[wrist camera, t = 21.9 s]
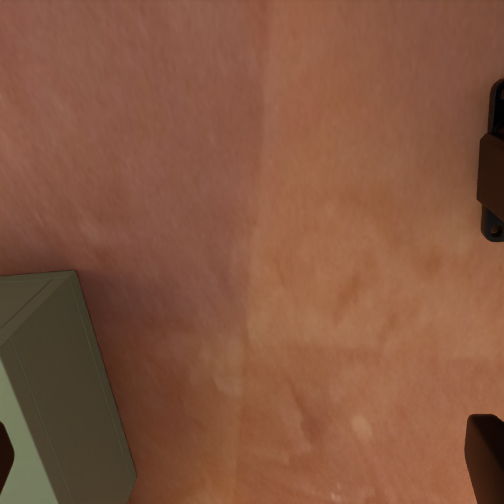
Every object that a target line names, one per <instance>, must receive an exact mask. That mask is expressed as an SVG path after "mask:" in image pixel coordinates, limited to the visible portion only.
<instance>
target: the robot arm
mask: <svg viewBox="0 0 504 504" xmlns="http://www.w3.org/2000/svg"><path fill="white" fill-rule="evenodd" d="M503 89H504V79H500V80H499V81H497V82H496V83H495V84H494V85H493V87H492V88H491V92H490V102H489V117H488V132H487V134H485V135H484V136H483V137H482V138H481V140H480V150H479V166H478V182H477V200H478V201H479V202H481V203H482V204H483V206H482V221H481V232H482V234H483V235H484V237H485V238H486V239H487V240H489V241H491V242H504V99H503V98H502V97H501V92H502V90H503ZM496 225H499V226H500V228H499V230H498V231H497V232H496V233H491V232H490V231H491V229H492V228H493V227H494V226H496ZM464 450H465V459H466V464H467V468H468V471H469V475H470V478H471V482H472V486H473V489H474V493H475V496H476V500H477V504H504V422H503V421H502V420H501V419H499V418H498V417H497V416H495V415H493V414H472V415H470V416H469V418H468V420H467V429H466V438H465V449H464ZM14 457H15V453H14V448H13V446H12V443H11V441H10V438H9V435H8V433H7V430H6V428H5V426H4V424H3V423H2V422H1V421H0V495H1V492H2V490H3V487H4V485H5V483H6V480H7V478H8V475H9V473H10V470H11V468H12V466H13V463H14Z"/></svg>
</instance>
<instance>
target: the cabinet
mask: <svg viewBox="0 0 504 504" xmlns="http://www.w3.org/2000/svg"><path fill="white" fill-rule="evenodd" d="M0 421H1V422H2V423H3V424H4V426H5V428H6V430H7V433H8V435H9V438H10V441H11V443H12V446H13V448H14V453H15V457H14V463H13V466H12V468H11V470H10V473H9V475H8V478H7V480H6V483H5V485H4V487H3V490H2V492H1V495H0V504H127V502H128V500H129V497H130V494H131V491H132V489H133V487H134V484H135V481H136V478H137V474H136V471H135V468H134V464H133V461H132V458H131V454H130V451H129V447H128V444H127V441H126V437H125V434H124V431H123V427H122V424H121V421H120V417H119V414H118V410H117V407H116V404H115V400H114V397H113V394H112V390H111V387H110V384H109V380H108V377H107V373H106V370H105V367H104V363H103V360H102V357H101V353H100V350H99V347H98V343H97V340H96V337H95V333H94V330H93V326H92V323H91V320H90V316H89V313H88V310H87V306H86V303H85V300H84V296H83V293H82V289H81V286H80V283H79V279H78V276H77V273H76V270H71V271H58V272H46V273H34V274H22V275H9V276H0Z"/></svg>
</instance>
